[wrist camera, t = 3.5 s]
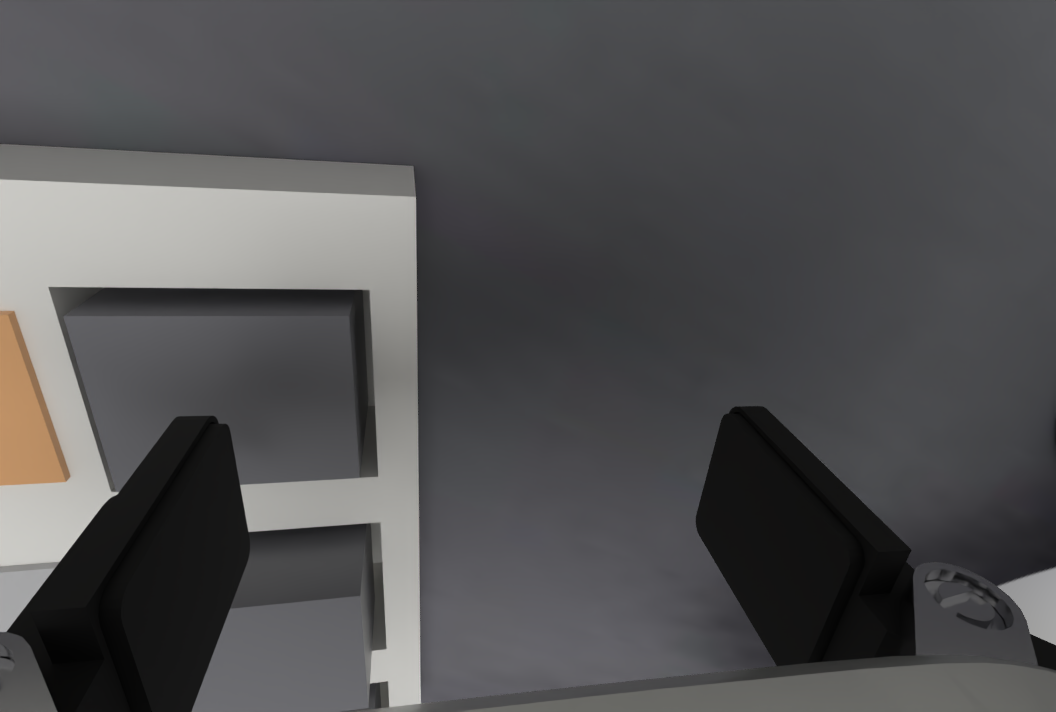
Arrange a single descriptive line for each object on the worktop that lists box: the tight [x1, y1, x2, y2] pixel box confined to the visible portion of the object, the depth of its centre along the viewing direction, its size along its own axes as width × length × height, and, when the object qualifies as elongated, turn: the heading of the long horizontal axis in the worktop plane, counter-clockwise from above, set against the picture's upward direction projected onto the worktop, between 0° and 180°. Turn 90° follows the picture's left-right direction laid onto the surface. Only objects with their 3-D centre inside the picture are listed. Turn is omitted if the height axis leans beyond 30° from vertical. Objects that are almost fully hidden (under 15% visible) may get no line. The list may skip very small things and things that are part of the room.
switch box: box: [0, 144, 421, 708], centre depth 17 cm, size 12×22×5 cm, turn 176°
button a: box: [63, 287, 368, 492], centre depth 14 cm, size 5×4×4 cm
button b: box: [192, 523, 375, 712], centre depth 15 cm, size 5×4×4 cm
